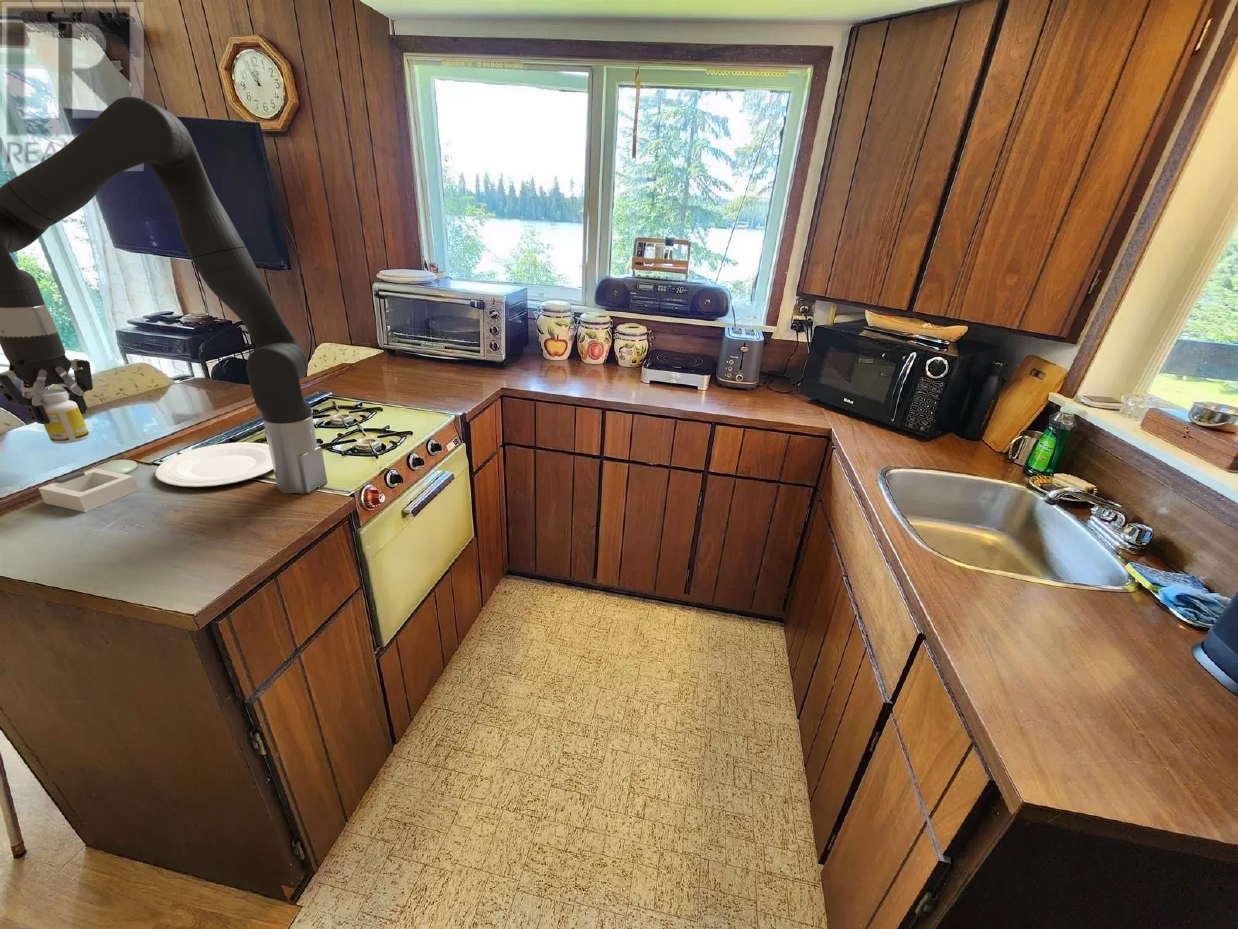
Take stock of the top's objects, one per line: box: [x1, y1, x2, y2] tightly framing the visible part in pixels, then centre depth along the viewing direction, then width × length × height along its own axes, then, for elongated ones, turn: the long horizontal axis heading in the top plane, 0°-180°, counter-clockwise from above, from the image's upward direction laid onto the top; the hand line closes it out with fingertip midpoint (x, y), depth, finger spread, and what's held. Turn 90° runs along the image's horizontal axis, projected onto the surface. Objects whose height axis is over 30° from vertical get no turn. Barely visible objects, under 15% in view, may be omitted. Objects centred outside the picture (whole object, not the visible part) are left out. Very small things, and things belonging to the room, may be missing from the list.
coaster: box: [82, 459, 138, 475], centre depth 115 cm, size 9×9×1 cm
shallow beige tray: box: [38, 468, 139, 513], centre depth 104 cm, size 10×10×4 cm
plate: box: [154, 441, 274, 488], centre depth 121 cm, size 25×25×2 cm
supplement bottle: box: [40, 388, 90, 445], centre depth 97 cm, size 5×5×10 cm
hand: (62, 417), depth 97 cm, fingers closed on supplement bottle, 5 cm apart
